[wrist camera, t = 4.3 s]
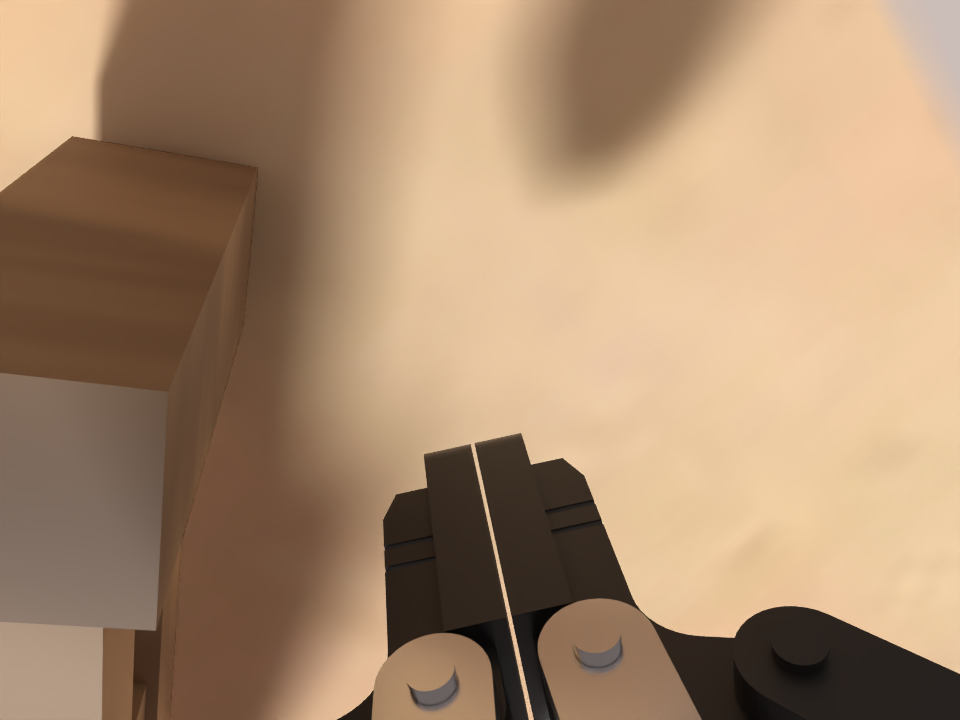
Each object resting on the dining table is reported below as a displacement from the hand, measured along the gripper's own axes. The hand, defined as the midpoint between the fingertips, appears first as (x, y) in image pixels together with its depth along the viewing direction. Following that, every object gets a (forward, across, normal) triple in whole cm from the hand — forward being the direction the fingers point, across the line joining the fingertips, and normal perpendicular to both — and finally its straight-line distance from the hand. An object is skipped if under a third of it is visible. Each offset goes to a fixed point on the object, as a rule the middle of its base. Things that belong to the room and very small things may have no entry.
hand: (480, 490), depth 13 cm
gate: (+3, +7, +3) cm, 8 cm away
